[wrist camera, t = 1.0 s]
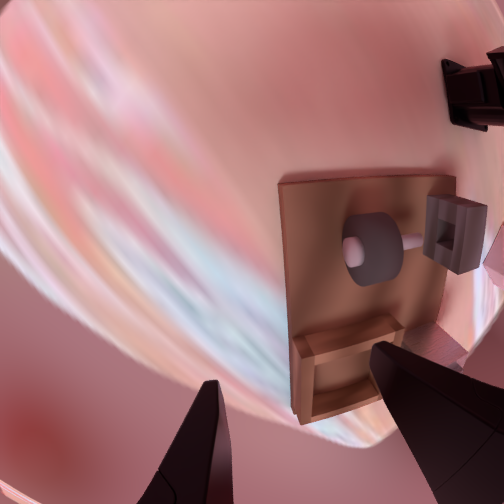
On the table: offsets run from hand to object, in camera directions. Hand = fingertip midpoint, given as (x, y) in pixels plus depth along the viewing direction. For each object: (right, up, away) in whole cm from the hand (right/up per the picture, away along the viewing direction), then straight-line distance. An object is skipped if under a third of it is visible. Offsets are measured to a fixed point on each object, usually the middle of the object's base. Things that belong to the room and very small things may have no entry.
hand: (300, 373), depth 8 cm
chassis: (+9, -1, +15) cm, 17 cm away
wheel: (+7, +5, +11) cm, 14 cm away
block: (+15, -6, +16) cm, 23 cm away
